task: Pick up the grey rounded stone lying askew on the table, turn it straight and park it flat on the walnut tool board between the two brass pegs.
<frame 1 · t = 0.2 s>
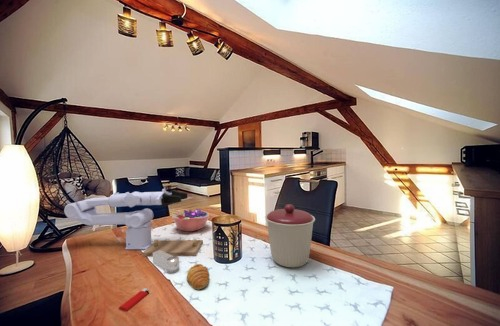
hand: (184, 197, 91), 21 cm above the table, tool horizontal, fingers open, 7 cm apart
lighter: (136, 302, 57), on the table
cell model: (191, 229, 112), on the table
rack: (174, 249, 88), on the table
pastry: (199, 281, 66), on the table
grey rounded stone: (164, 265, 75), on the table
canister: (289, 261, 77), on the table
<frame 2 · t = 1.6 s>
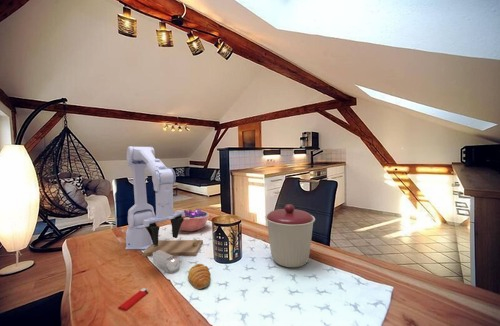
hand: (165, 240, 74), 9 cm above the table, tool pointing down, fingers open, 7 cm apart
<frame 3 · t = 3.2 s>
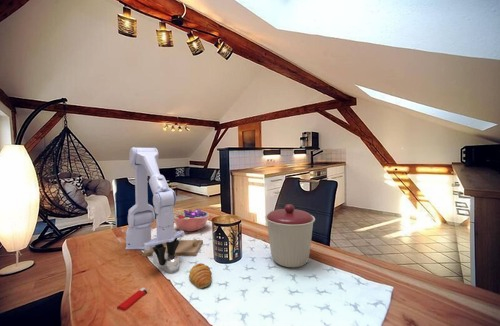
hand: (166, 262, 74), 2 cm above the table, tool pointing down, fingers closed on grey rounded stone, 3 cm apart
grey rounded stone: (164, 265, 75), on the table, touching gripper
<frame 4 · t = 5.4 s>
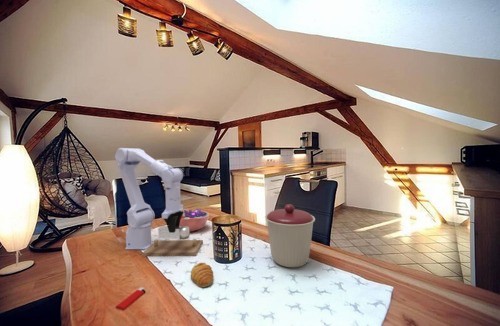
hand: (173, 230, 86), 9 cm above the table, tool pointing down, fingers closed on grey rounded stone, 3 cm apart
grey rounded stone: (171, 237, 86), point 6 cm above the table, touching gripper
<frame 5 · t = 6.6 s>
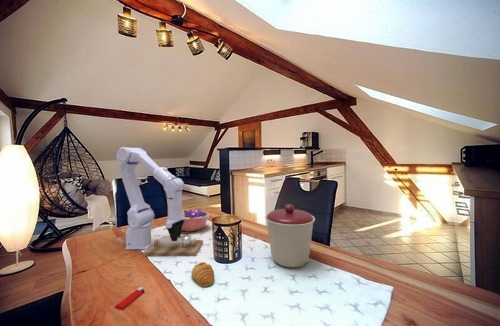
hand: (175, 239, 88), 4 cm above the table, tool pointing down, fingers closed on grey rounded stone, 3 cm apart
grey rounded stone: (173, 245, 88), point 1 cm above the table, touching gripper, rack
when the fingers open (4 cm above the table, at t = 7.2 s): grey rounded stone stays where it is, resting on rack.
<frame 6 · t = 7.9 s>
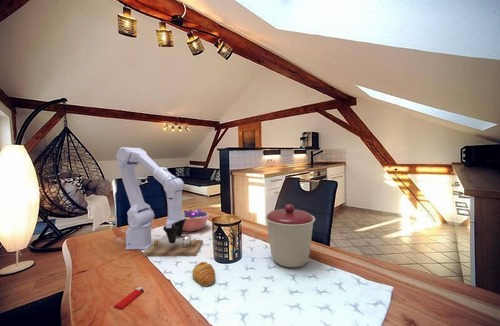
hand: (175, 239, 88), 4 cm above the table, tool pointing down, fingers open, 7 cm apart
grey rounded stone: (173, 245, 88), point 1 cm above the table, touching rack
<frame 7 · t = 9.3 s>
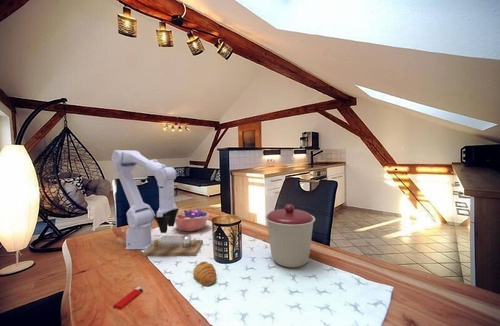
hand: (167, 229, 86), 9 cm above the table, tool pointing down, fingers open, 7 cm apart
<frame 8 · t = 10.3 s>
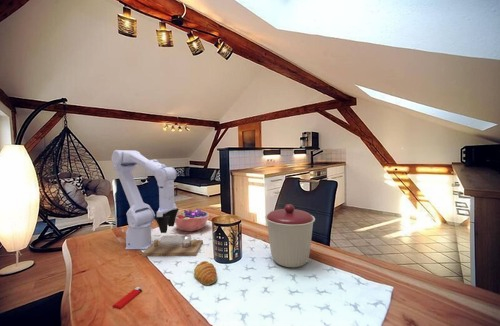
hand: (167, 229, 86), 9 cm above the table, tool pointing down, fingers open, 7 cm apart
at the end: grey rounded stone 0.0 cm off-centre on the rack, point 1.5 cm above the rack's base; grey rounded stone tilted 0°; the gripper is holding nothing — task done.
